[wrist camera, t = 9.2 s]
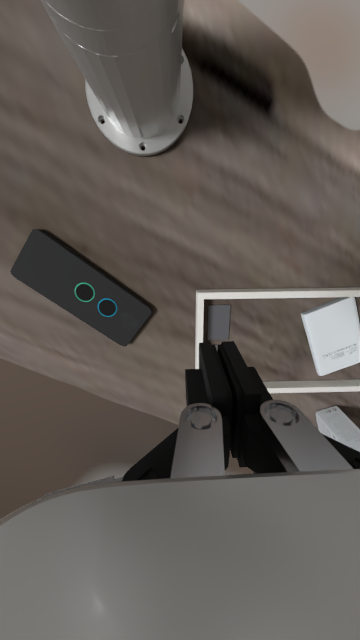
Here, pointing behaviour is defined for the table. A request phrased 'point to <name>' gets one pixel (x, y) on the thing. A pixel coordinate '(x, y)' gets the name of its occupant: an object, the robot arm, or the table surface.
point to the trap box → (221, 313)
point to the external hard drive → (333, 334)
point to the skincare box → (338, 427)
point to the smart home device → (79, 287)
